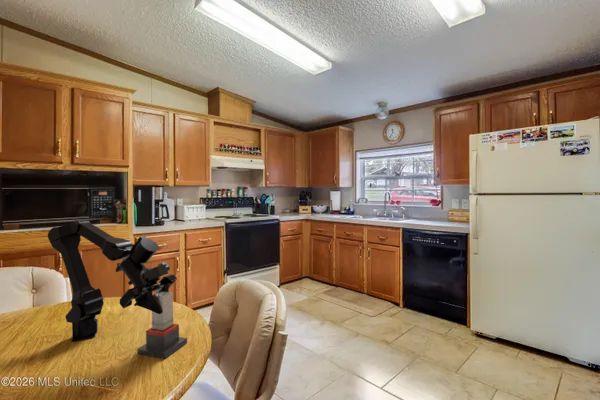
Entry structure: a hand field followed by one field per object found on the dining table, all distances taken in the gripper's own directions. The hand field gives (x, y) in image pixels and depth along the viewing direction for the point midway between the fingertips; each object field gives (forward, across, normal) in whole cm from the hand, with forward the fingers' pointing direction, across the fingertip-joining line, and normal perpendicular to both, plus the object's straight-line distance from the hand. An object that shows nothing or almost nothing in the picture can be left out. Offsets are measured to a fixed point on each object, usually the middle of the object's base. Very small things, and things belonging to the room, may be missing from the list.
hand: (166, 310), depth 93 cm
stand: (+8, 0, +9) cm, 12 cm away
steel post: (+4, 0, +6) cm, 7 cm away
